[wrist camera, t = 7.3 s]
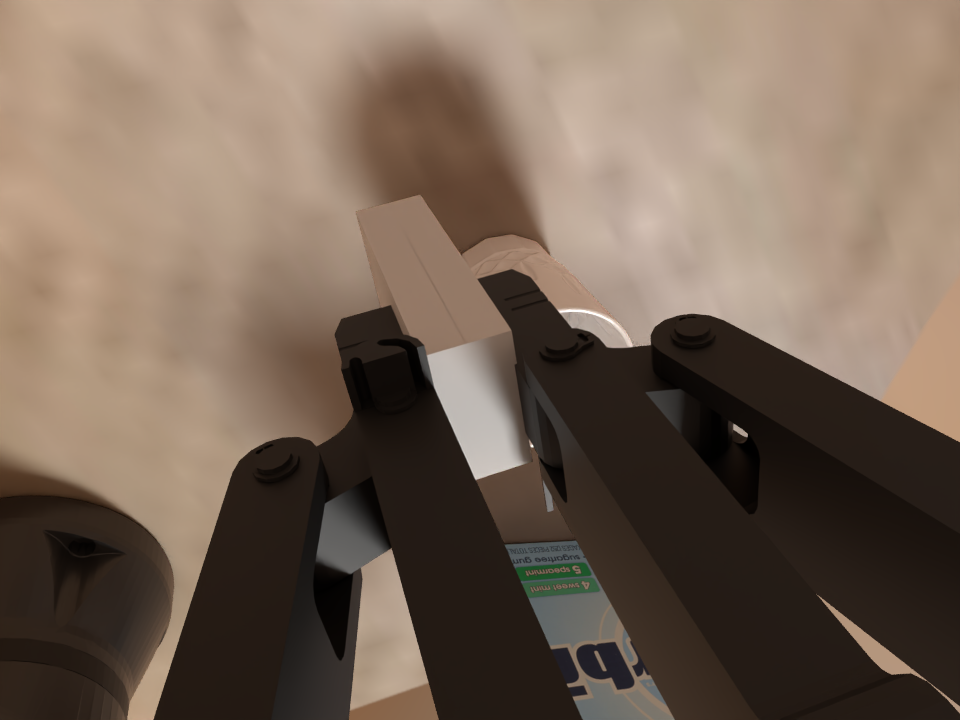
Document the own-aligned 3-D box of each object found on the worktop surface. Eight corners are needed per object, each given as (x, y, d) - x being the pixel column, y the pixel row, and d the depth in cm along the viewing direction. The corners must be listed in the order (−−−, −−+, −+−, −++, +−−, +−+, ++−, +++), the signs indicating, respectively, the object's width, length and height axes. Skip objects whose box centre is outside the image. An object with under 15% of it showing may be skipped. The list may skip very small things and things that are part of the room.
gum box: (438, 592, 57) (533, 944, 39) (449, 540, 55) (557, 890, 36) (671, 577, 63) (851, 876, 45) (690, 529, 61) (890, 825, 42)
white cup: (587, 244, 45) (663, 329, 37) (533, 358, 49) (592, 459, 40) (464, 206, 42) (517, 289, 34) (414, 331, 45) (452, 434, 37)
